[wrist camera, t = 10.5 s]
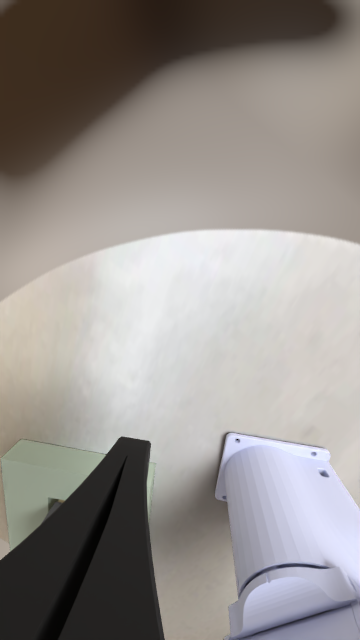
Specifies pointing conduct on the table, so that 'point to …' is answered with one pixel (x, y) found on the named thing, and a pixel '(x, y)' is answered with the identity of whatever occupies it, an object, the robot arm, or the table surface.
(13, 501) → the socket panel
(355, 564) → the robot arm
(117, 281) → the table surface
